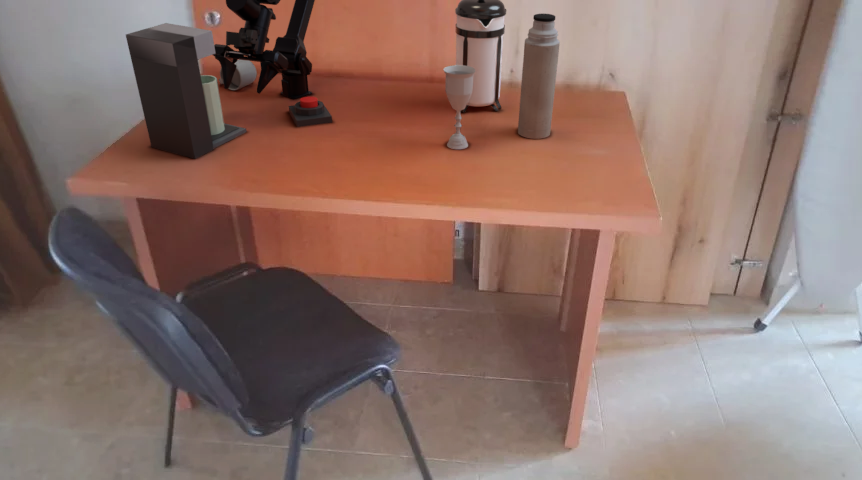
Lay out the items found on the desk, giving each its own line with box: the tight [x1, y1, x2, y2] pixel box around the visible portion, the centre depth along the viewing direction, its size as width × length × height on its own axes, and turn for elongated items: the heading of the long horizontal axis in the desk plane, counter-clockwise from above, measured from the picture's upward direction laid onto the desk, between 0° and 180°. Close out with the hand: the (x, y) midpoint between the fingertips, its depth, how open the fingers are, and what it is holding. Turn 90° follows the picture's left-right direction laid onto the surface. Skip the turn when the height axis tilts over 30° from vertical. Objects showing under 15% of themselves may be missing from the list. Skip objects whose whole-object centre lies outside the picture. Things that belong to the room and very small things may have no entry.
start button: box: [299, 95, 319, 108], centre depth 178 cm, size 4×4×2 cm
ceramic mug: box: [218, 59, 258, 91], centre depth 199 cm, size 11×8×8 cm
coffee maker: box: [125, 22, 248, 160], centre depth 161 cm, size 18×14×26 cm
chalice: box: [442, 64, 476, 150], centre depth 161 cm, size 7×7×18 cm
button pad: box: [288, 99, 333, 128], centre depth 179 cm, size 11×9×4 cm
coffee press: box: [454, 0, 507, 114], centre depth 181 cm, size 17×16×30 cm
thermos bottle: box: [517, 13, 561, 140], centre depth 164 cm, size 8×8×28 cm
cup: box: [200, 74, 225, 135], centre depth 167 cm, size 7×7×12 cm
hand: (241, 90), depth 171 cm, fingers open, 9 cm apart
